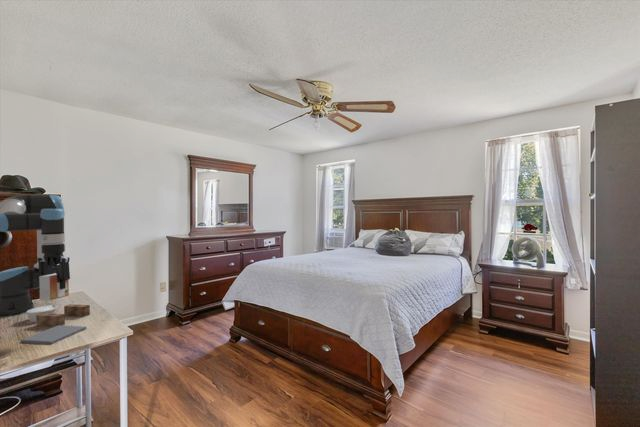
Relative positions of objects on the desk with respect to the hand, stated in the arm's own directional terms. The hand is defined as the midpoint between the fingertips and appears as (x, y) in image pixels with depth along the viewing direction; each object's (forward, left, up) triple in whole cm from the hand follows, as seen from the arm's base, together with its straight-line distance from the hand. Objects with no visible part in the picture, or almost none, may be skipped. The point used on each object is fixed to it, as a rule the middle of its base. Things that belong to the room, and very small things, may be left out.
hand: (54, 296), depth 127 cm
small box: (0, 0, -1) cm, 1 cm away
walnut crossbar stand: (-14, +16, -17) cm, 27 cm away
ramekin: (-27, +16, -18) cm, 36 cm away
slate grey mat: (0, 0, -17) cm, 17 cm away
